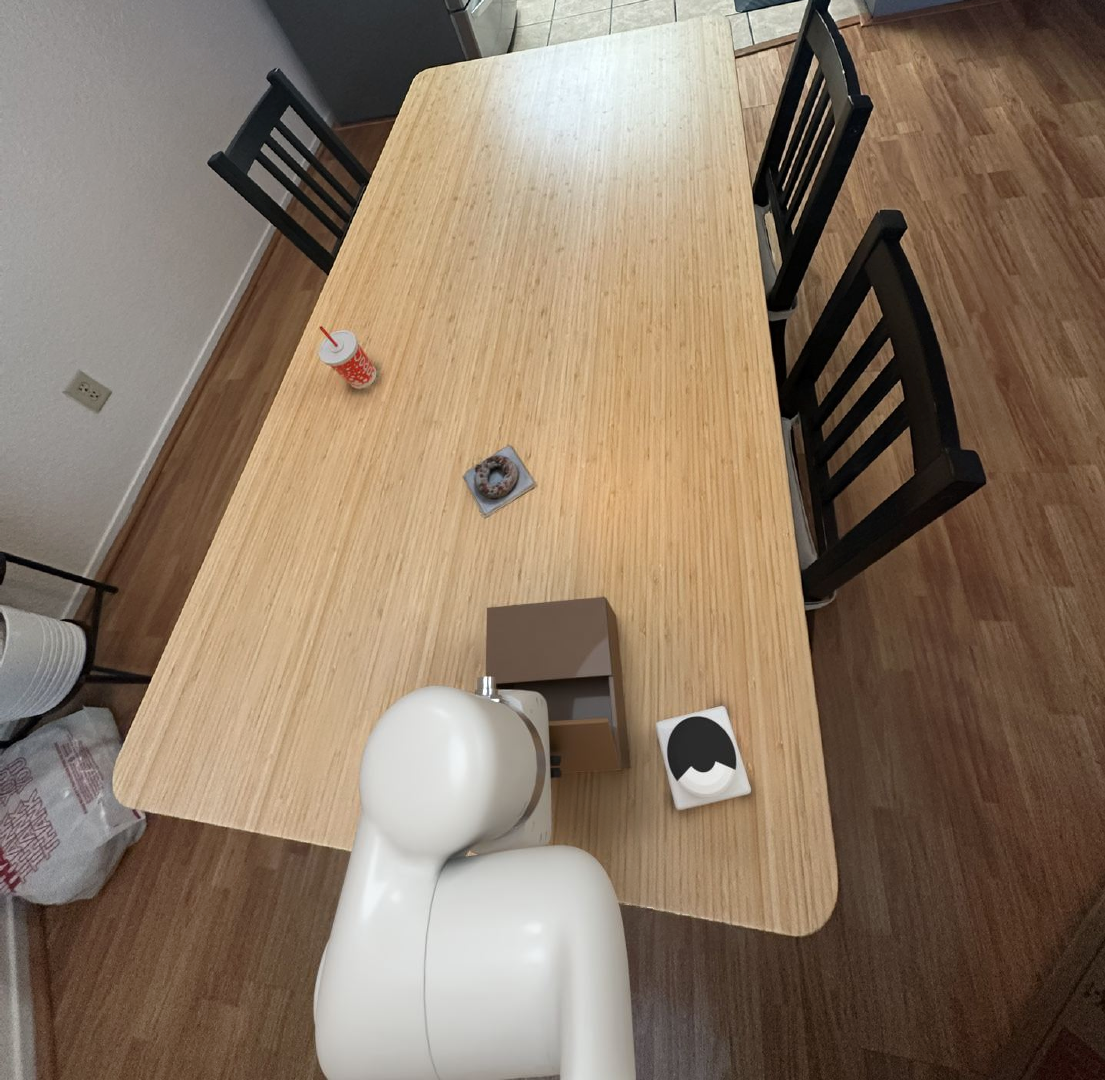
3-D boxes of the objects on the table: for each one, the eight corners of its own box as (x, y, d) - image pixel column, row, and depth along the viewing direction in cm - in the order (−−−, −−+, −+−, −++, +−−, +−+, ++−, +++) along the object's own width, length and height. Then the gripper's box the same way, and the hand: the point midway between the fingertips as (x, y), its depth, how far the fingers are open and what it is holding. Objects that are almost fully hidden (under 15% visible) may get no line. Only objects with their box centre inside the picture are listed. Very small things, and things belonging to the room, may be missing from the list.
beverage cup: (366, 397, 99) (323, 349, 88) (338, 386, 101) (292, 338, 90) (388, 367, 101) (348, 316, 90) (359, 356, 104) (318, 306, 93)
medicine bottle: (658, 725, 67) (650, 718, 57) (722, 710, 66) (726, 700, 57) (678, 807, 63) (674, 814, 53) (747, 791, 62) (756, 795, 53)
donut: (511, 443, 89) (507, 437, 88) (536, 486, 85) (533, 480, 83) (461, 474, 88) (456, 468, 86) (484, 519, 84) (479, 514, 82)
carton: (630, 768, 65) (620, 768, 57) (510, 774, 67) (483, 775, 59) (616, 615, 74) (605, 595, 65) (510, 624, 75) (486, 606, 67)
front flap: (620, 765, 57) (620, 769, 57) (484, 772, 59) (484, 777, 59) (607, 717, 54) (608, 721, 53) (464, 726, 56) (464, 731, 55)
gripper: (439, 646, 45) (503, 676, 60) (424, 922, 37) (503, 878, 52) (539, 638, 44) (580, 670, 59) (548, 919, 36) (592, 875, 51)
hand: (544, 767), depth 56 cm, fingers closed
